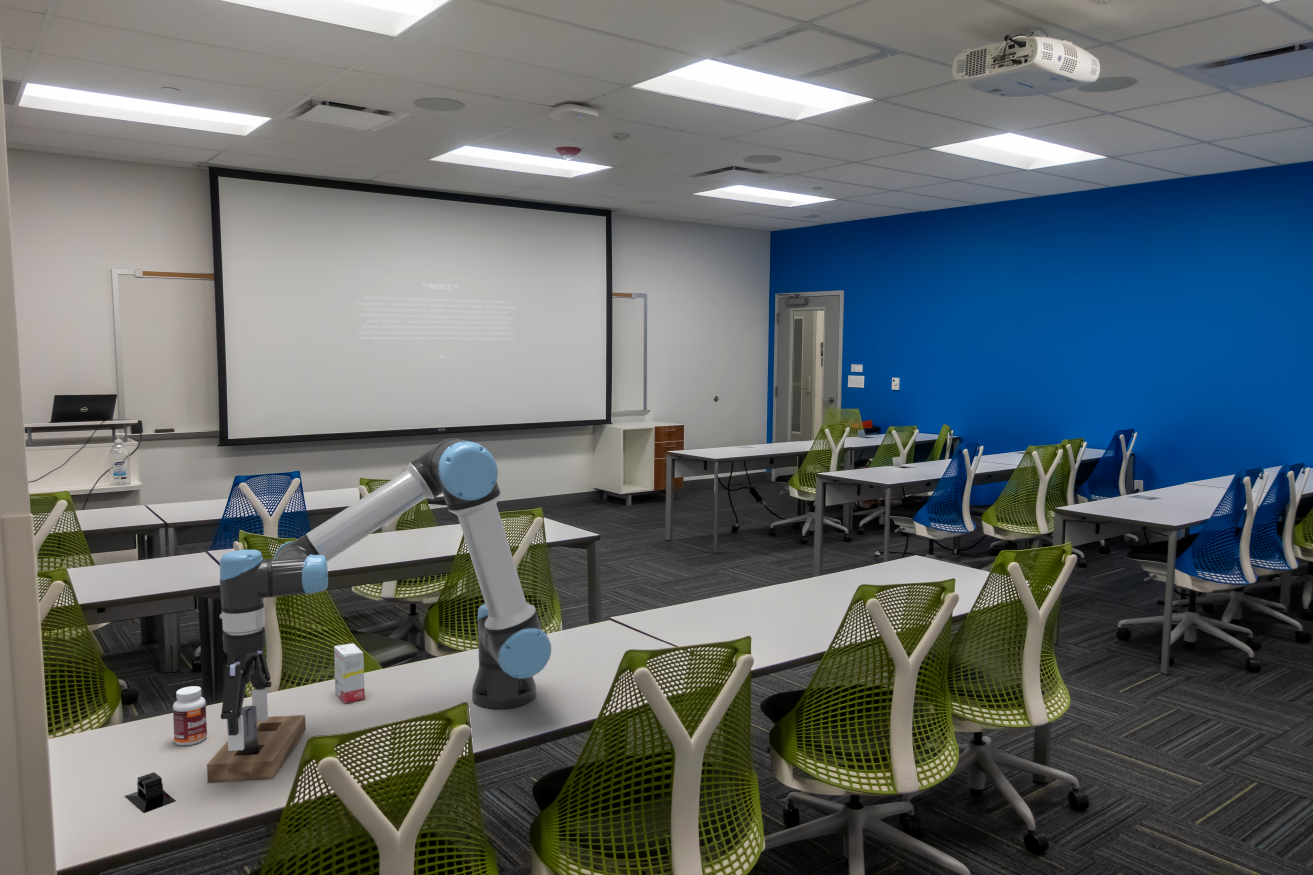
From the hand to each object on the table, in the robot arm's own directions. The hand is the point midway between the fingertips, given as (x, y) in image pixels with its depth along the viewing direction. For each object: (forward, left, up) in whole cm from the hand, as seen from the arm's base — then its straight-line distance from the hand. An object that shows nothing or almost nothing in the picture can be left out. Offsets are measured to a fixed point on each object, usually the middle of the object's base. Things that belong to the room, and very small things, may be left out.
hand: (248, 734), depth 171 cm
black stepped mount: (+14, +11, -8) cm, 19 cm away
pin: (0, 0, -7) cm, 7 cm away
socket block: (0, -6, -7) cm, 9 cm away
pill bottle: (+17, -14, -7) cm, 23 cm away
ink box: (-11, -36, -7) cm, 38 cm away
